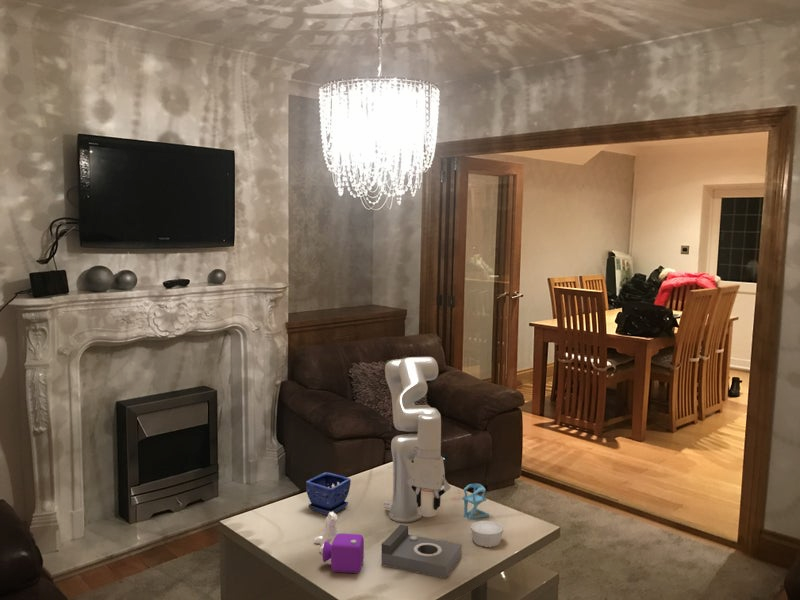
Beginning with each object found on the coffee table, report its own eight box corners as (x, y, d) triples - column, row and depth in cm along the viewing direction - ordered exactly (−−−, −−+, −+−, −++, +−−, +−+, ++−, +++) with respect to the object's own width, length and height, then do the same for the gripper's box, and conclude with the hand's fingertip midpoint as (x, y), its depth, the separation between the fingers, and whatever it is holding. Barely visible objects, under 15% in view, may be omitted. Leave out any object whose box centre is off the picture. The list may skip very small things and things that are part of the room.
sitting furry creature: (313, 542, 226) (312, 508, 225) (336, 537, 230) (336, 505, 229) (320, 554, 218) (320, 519, 217) (345, 549, 221) (345, 515, 220)
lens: (418, 515, 210) (418, 487, 210) (423, 509, 215) (423, 481, 214) (432, 517, 209) (433, 489, 208) (438, 511, 213) (438, 484, 212)
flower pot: (352, 507, 256) (352, 477, 255) (331, 519, 245) (331, 488, 244) (325, 499, 264) (325, 471, 262) (304, 511, 252) (304, 481, 251)
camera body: (381, 564, 211) (381, 544, 210) (400, 543, 226) (400, 524, 225) (445, 578, 203) (446, 557, 202) (461, 556, 217) (461, 535, 217)
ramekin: (465, 537, 231) (465, 522, 231) (492, 532, 235) (493, 518, 235) (480, 551, 221) (480, 536, 221) (508, 545, 225) (509, 531, 225)
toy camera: (321, 559, 214) (321, 530, 213) (363, 558, 215) (363, 528, 215) (320, 576, 204) (320, 545, 203) (364, 574, 205) (364, 544, 204)
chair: (459, 515, 250) (459, 484, 249) (474, 509, 255) (475, 479, 254) (473, 522, 244) (473, 491, 243) (489, 516, 249) (489, 485, 248)
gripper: (400, 452, 210) (399, 507, 211) (450, 459, 203) (449, 515, 205) (408, 445, 217) (408, 498, 218) (457, 452, 210) (456, 506, 212)
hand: (428, 506), depth 212 cm, fingers closed on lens, 5 cm apart
